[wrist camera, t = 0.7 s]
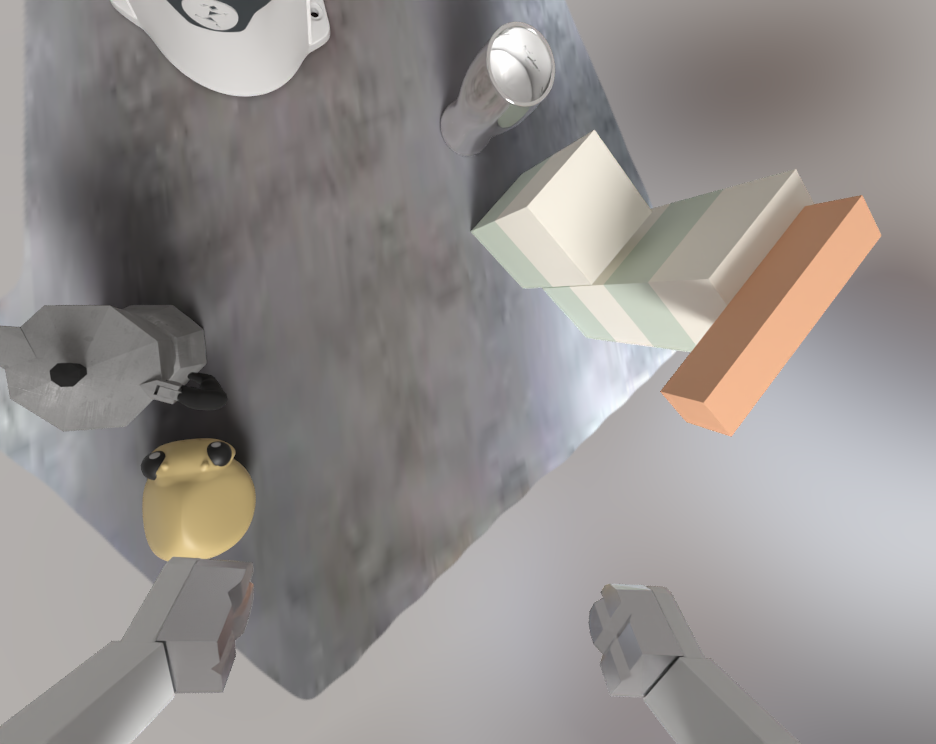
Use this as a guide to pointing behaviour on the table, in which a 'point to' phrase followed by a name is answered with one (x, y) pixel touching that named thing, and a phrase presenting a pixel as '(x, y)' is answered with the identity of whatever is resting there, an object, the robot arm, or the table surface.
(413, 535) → the table surface
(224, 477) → the yellow toy figurine
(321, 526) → the table surface
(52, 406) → the coffeepot
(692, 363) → the long brick
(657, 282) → the tall tower
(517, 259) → the short tower
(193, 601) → the robot arm
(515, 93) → the beer glass
